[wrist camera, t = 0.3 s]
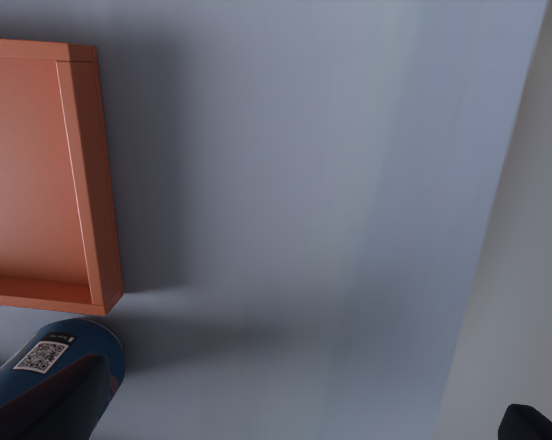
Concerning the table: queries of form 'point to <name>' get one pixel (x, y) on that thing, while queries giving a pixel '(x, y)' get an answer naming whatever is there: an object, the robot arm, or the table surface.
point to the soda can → (61, 356)
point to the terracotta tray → (55, 181)
